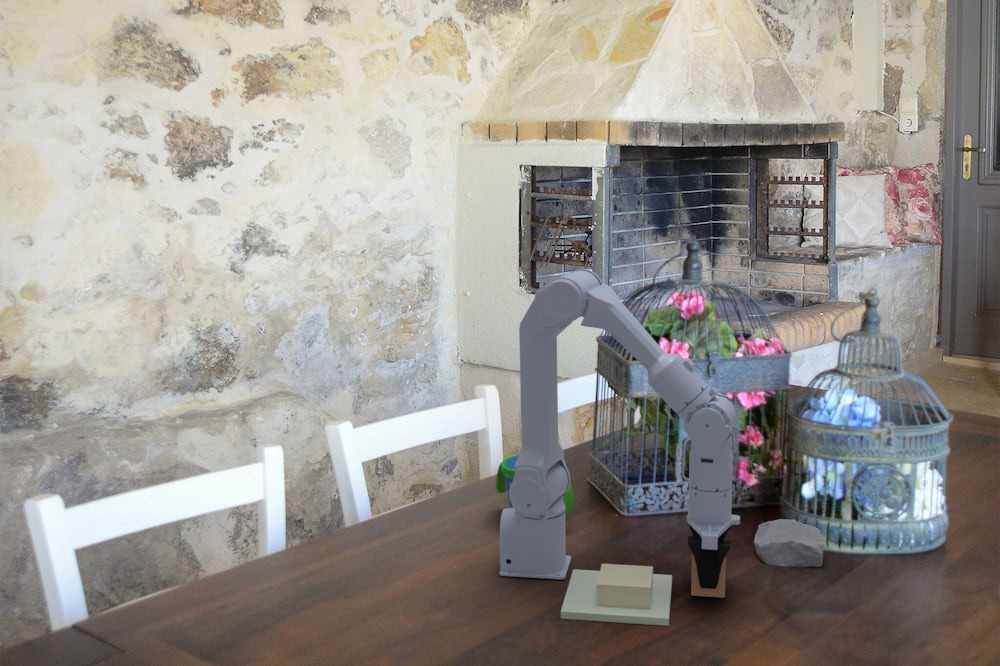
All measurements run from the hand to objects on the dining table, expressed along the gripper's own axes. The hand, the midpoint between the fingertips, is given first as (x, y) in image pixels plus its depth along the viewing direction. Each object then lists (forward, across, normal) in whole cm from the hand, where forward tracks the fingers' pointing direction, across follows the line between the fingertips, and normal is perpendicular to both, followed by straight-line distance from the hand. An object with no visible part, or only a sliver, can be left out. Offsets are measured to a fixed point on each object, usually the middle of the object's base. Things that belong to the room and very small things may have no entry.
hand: (708, 579), depth 149 cm
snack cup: (+2, +24, +28) cm, 37 cm away
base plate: (+2, -4, +12) cm, 13 cm away
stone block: (+2, +17, -12) cm, 21 cm away
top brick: (+1, 0, 0) cm, 1 cm away
